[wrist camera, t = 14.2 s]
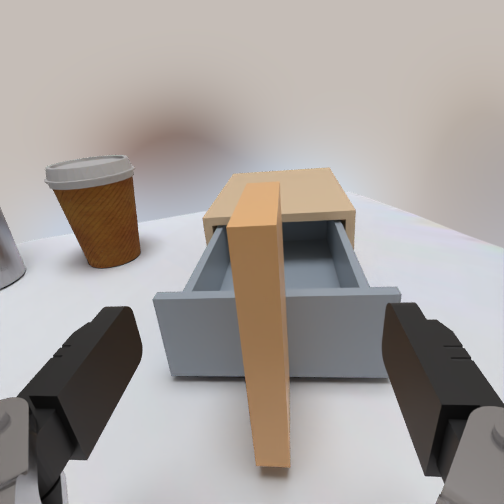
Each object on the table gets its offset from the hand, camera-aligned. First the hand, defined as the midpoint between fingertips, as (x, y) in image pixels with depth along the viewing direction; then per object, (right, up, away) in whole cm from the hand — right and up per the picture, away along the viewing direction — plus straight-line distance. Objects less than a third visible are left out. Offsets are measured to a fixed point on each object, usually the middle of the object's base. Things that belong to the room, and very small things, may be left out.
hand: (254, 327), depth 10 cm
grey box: (+2, -3, +17) cm, 17 cm away
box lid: (+4, +4, +32) cm, 32 cm away
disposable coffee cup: (-18, +2, +32) cm, 36 cm away
